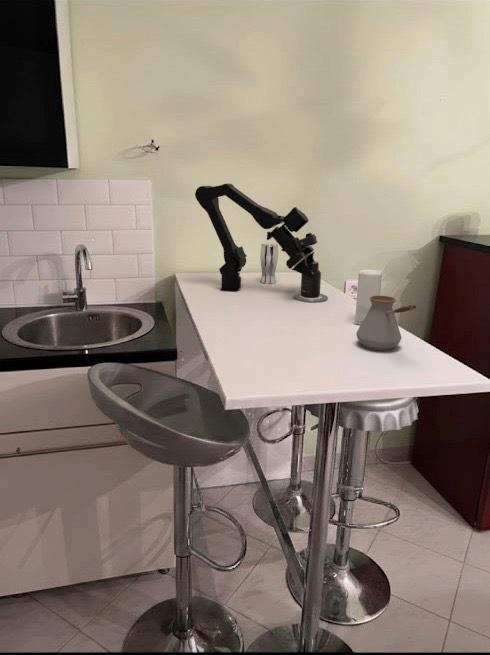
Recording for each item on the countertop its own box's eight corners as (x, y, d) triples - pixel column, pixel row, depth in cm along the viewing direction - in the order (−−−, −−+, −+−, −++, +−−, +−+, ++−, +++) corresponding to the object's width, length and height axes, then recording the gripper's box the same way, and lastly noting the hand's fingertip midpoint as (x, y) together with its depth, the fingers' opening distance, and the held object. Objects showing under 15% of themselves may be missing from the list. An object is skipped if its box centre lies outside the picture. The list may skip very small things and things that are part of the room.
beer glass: (257, 280, 206) (258, 243, 202) (273, 280, 208) (274, 243, 204) (262, 284, 200) (264, 246, 196) (279, 284, 202) (281, 245, 198)
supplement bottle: (310, 292, 186) (312, 260, 183) (323, 296, 181) (326, 263, 177) (296, 295, 182) (298, 261, 179) (309, 299, 177) (311, 265, 173)
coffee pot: (348, 339, 139) (353, 285, 134) (387, 337, 141) (393, 284, 137) (385, 369, 119) (393, 307, 115) (430, 366, 122) (439, 305, 117)
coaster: (292, 301, 177) (292, 299, 177) (295, 293, 188) (295, 291, 188) (327, 303, 175) (327, 301, 175) (328, 295, 186) (328, 293, 186)
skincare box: (375, 327, 151) (381, 274, 146) (352, 324, 153) (357, 272, 148) (378, 319, 158) (383, 269, 153) (356, 317, 160) (361, 267, 155)
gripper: (297, 228, 167) (328, 265, 167) (309, 223, 184) (338, 256, 184) (273, 250, 172) (303, 286, 172) (287, 243, 189) (314, 275, 189)
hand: (316, 275), depth 179 cm, fingers open, 9 cm apart
